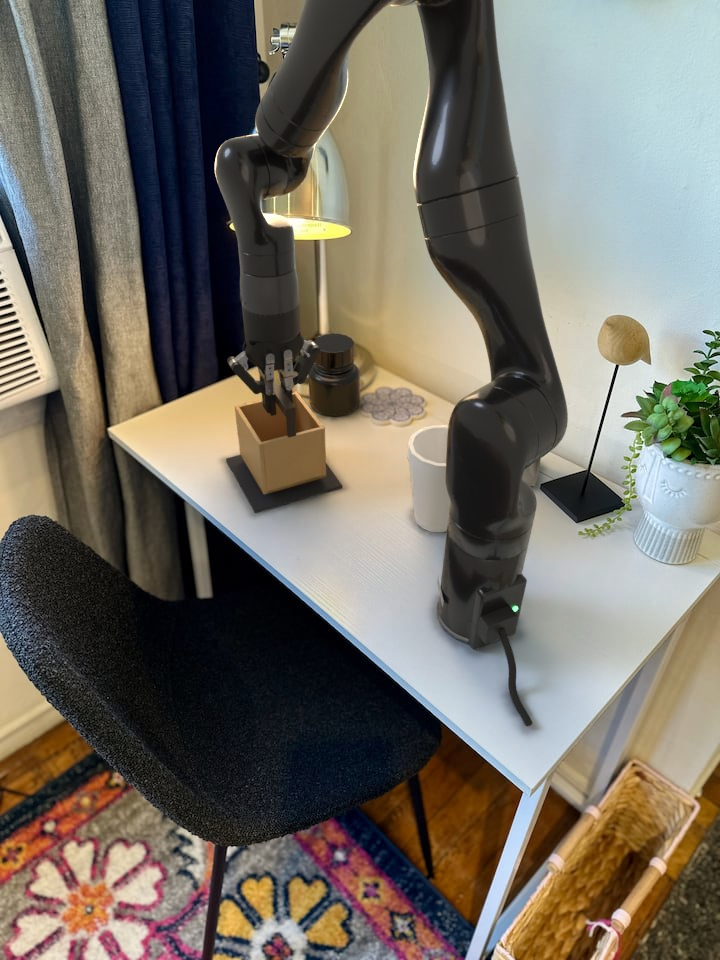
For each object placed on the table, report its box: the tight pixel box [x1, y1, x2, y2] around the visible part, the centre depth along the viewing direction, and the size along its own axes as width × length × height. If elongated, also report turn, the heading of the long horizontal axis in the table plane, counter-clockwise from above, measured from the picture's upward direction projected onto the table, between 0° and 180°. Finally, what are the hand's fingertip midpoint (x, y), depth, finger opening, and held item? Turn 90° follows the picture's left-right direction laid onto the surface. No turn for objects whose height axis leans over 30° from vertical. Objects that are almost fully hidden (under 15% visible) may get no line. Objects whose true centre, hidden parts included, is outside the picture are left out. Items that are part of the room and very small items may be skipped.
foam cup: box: [406, 424, 450, 533], centre depth 100 cm, size 10×9×13 cm
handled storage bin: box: [234, 379, 327, 495], centre depth 107 cm, size 11×10×14 cm
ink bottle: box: [308, 333, 361, 417], centre depth 124 cm, size 10×9×12 cm
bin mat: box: [225, 454, 343, 514], centre depth 112 cm, size 14×14×1 cm
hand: (278, 410), depth 105 cm, fingers closed on handled storage bin, 1 cm apart
